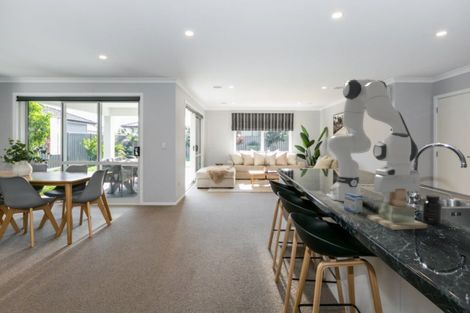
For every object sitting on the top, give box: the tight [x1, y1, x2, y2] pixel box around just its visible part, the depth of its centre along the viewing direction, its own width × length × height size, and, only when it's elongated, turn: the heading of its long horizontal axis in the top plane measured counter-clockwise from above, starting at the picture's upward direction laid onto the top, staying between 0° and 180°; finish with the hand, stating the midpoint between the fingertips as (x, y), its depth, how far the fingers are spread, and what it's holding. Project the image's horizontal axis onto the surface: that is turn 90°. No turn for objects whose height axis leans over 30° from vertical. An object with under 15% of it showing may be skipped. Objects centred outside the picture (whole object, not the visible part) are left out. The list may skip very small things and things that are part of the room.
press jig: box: [366, 202, 428, 231], centre depth 119 cm, size 16×16×8 cm
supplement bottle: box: [422, 194, 443, 225], centre depth 120 cm, size 7×7×12 cm
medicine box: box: [343, 193, 364, 214], centre depth 138 cm, size 8×4×9 cm, turn 23°
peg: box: [388, 189, 406, 207], centre depth 118 cm, size 4×4×10 cm
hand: (396, 201), depth 118 cm, fingers open, 8 cm apart
